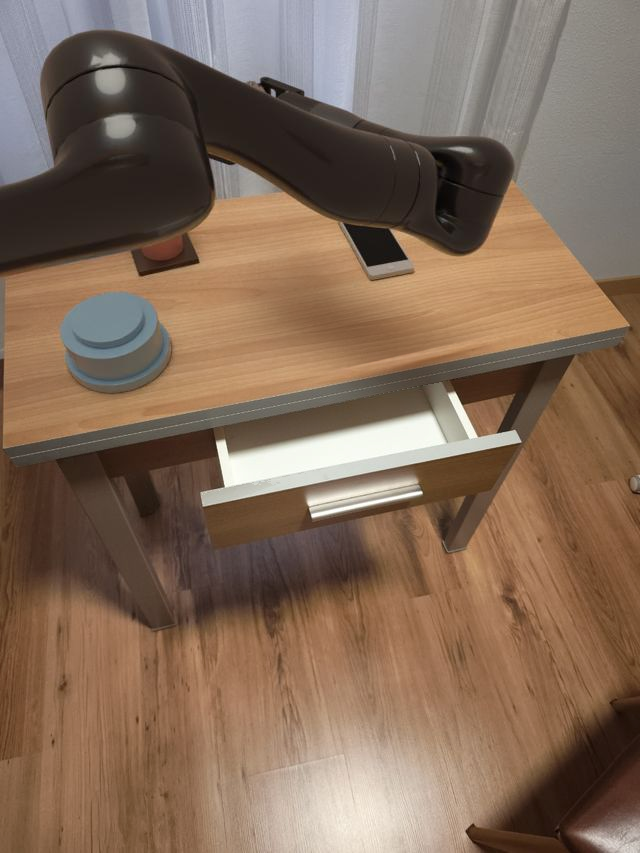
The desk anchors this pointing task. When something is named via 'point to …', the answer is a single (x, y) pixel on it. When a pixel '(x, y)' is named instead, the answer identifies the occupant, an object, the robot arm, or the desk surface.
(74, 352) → the blue stepped cylinder
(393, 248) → the smartphone
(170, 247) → the terracotta cylinder
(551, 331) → the desk surface
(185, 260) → the coaster
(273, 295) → the desk surface
